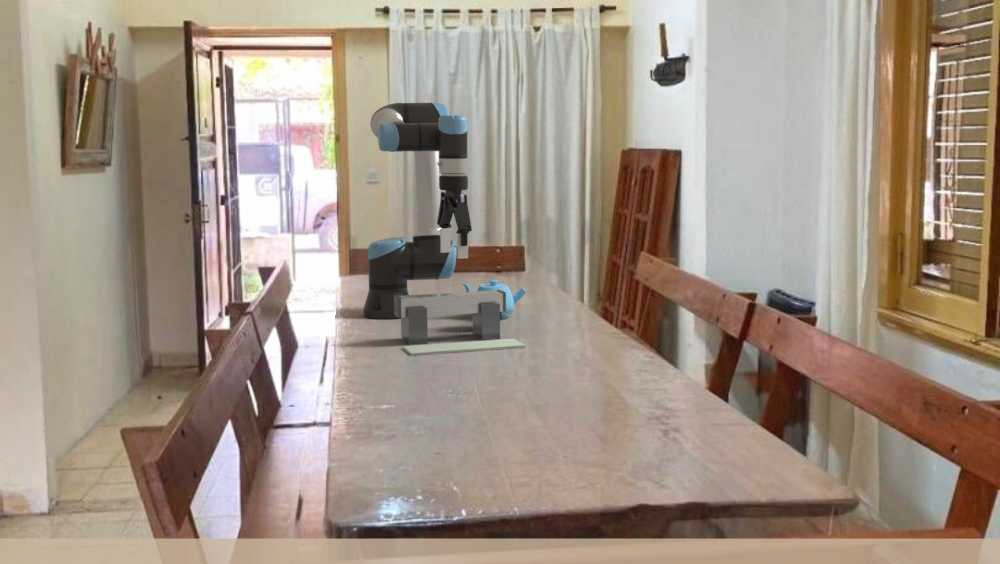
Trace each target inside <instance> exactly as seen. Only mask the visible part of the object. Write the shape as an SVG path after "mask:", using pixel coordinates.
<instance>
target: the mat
mask: <svg viewBox="0 0 1000 564" xmlns="http://www.w3.org/2000/svg"><path fill="white" fill-rule="evenodd" d="M520 348H522V349H524V348H526V345H525V344H524V343H522V342H520V341H519V340H517V339H515V338H505V339H504V338H503V339H489V340H477V341H476V340H475V341H474V340H473V341H461V342H459V341H457V342H447V343H445V342H444V343H429V344H416V345H403V346H402V349H403V350H404V351H405V352H406V353H408V355H410V356H411V357H412V356H425V355H426V356H427V355H438V354H439V355H440V354H451V353H463V352H465V353H466V352H479V351H480V352H481V351H493V350H507V349H508V350H509V349H520Z"/></svg>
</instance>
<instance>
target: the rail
mask: <svg viewBox="0 0 1000 564" xmlns="http://www.w3.org/2000/svg"><path fill="white" fill-rule="evenodd" d="M493 303H499V304H500V312H504V311H506V292H504V291H502V290H497V291H480V292H477V291H471V292H465V291H463V292H462V291H461V292H447V293H444V292H443V293H430V294H429V293H426V294H409V295H404V296H397V295H394V315H395V316H397V317H398V318H397V319H401V318H403V317H408V308H423V307H426V308H427V317H432V316H433V317H435V316H448V315H450V316H451V315H464V314H466V315H467V314H468V315H469V314H472V313H481V304H493Z"/></svg>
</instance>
